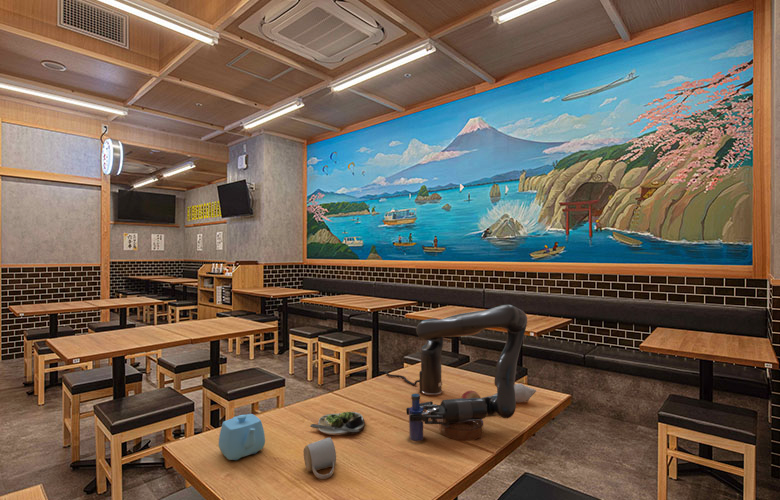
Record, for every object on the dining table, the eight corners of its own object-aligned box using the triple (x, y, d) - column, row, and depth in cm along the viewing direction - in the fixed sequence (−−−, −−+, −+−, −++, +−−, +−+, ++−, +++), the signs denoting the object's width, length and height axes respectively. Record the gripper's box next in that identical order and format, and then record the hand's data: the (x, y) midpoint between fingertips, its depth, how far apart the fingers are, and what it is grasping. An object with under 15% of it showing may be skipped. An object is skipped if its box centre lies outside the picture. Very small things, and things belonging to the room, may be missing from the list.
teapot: (233, 472, 109) (233, 432, 110) (214, 449, 123) (214, 413, 123) (274, 457, 118) (274, 420, 118) (252, 437, 131) (251, 403, 131)
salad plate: (309, 441, 128) (309, 427, 128) (311, 419, 145) (311, 407, 145) (366, 436, 131) (366, 422, 131) (361, 415, 149) (361, 403, 149)
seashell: (515, 420, 160) (539, 394, 158) (499, 409, 155) (524, 383, 153) (504, 405, 167) (527, 380, 166) (488, 395, 162) (512, 369, 161)
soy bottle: (407, 440, 127) (406, 396, 128) (413, 434, 131) (412, 391, 132) (420, 443, 125) (419, 398, 125) (425, 437, 129) (424, 393, 130)
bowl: (433, 436, 130) (432, 425, 130) (447, 419, 144) (447, 409, 144) (476, 446, 123) (476, 434, 123) (488, 428, 136) (488, 416, 136)
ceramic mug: (302, 465, 113) (302, 439, 113) (328, 457, 117) (328, 432, 117) (312, 484, 104) (312, 456, 104) (341, 475, 108) (340, 448, 108)
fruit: (468, 417, 146) (468, 396, 146) (457, 409, 153) (456, 389, 153) (484, 413, 149) (484, 392, 149) (473, 406, 156) (472, 386, 156)
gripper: (449, 392, 138) (403, 395, 135) (463, 407, 124) (412, 411, 121) (450, 413, 138) (404, 417, 135) (464, 430, 123) (412, 435, 121)
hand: (408, 414), depth 128 cm, fingers closed on soy bottle, 5 cm apart
